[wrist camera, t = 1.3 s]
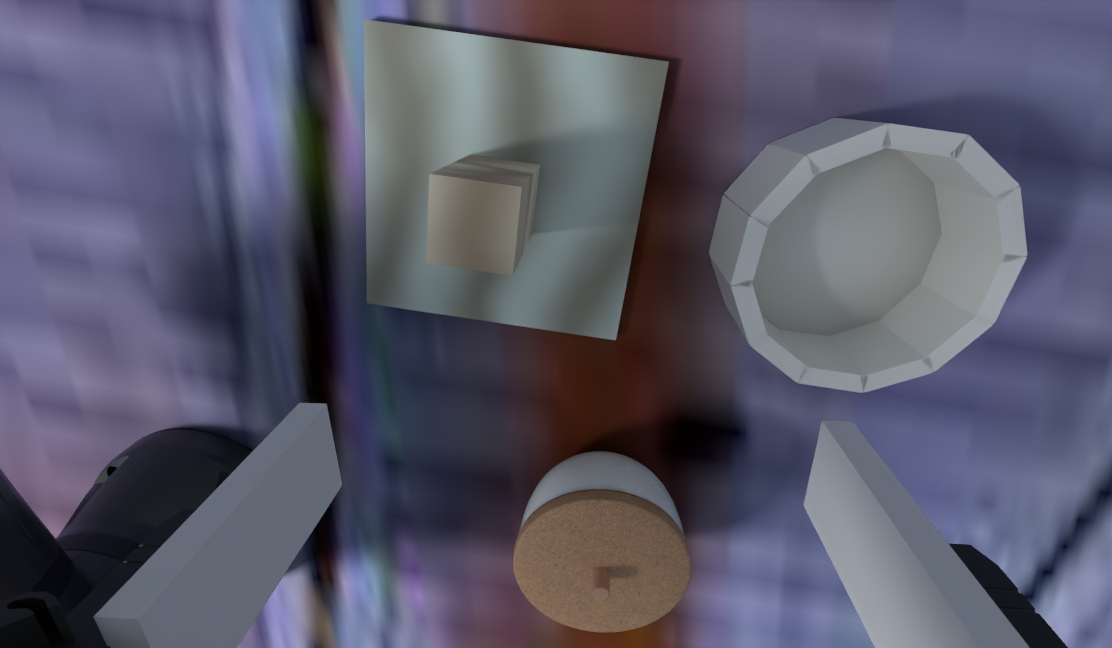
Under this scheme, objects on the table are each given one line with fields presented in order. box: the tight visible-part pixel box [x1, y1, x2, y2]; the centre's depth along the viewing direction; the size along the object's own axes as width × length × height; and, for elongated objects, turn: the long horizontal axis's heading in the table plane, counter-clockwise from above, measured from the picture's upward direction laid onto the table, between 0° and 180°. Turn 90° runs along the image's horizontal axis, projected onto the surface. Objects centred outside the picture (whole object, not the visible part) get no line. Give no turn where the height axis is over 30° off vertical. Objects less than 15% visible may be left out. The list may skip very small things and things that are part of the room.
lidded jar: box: [513, 451, 691, 632], centre depth 35 cm, size 11×11×9 cm
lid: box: [364, 19, 669, 340], centre depth 28 cm, size 16×16×9 cm
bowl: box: [709, 118, 1027, 393], centre depth 29 cm, size 13×13×6 cm
